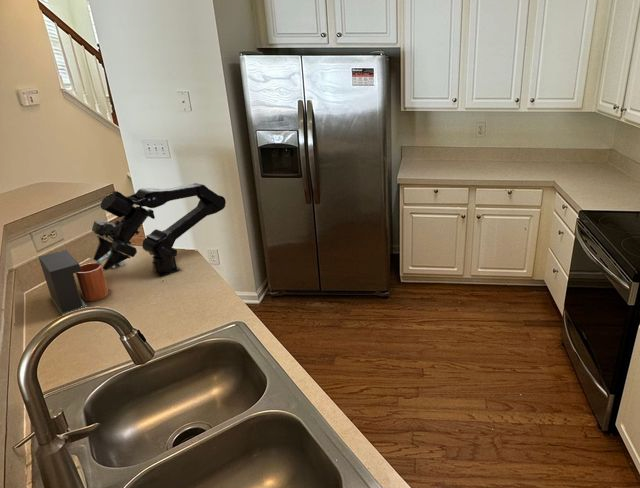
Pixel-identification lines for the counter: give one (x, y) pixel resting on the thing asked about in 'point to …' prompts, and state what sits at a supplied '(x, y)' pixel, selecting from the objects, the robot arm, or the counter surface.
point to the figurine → (107, 258)
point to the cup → (92, 281)
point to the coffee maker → (62, 280)
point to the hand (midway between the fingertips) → (99, 264)
